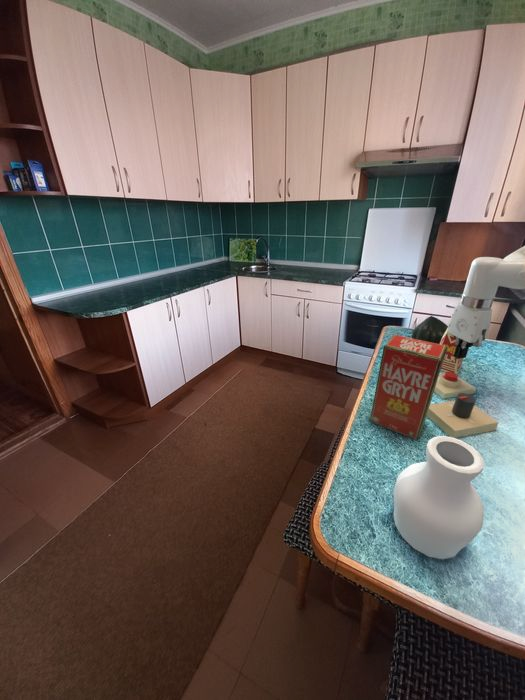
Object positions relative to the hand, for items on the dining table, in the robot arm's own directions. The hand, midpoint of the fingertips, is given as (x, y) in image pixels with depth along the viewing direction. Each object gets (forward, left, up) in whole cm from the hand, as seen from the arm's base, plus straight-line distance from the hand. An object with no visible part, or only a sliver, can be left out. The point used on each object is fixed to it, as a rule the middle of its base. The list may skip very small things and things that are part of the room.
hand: (459, 357), depth 93 cm
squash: (-14, -26, -12) cm, 32 cm away
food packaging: (+27, +11, -12) cm, 32 cm away
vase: (+40, +39, -12) cm, 57 cm away
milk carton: (-10, -12, -12) cm, 20 cm away
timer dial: (+10, +15, -9) cm, 20 cm away
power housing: (0, 0, -12) cm, 12 cm away
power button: (0, 0, -9) cm, 9 cm away
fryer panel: (+10, +15, -12) cm, 22 cm away
